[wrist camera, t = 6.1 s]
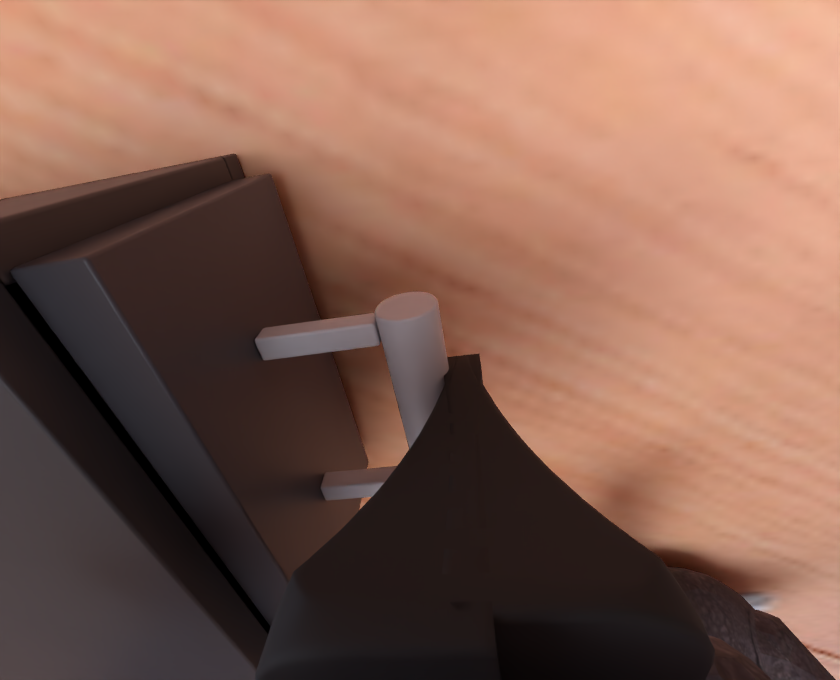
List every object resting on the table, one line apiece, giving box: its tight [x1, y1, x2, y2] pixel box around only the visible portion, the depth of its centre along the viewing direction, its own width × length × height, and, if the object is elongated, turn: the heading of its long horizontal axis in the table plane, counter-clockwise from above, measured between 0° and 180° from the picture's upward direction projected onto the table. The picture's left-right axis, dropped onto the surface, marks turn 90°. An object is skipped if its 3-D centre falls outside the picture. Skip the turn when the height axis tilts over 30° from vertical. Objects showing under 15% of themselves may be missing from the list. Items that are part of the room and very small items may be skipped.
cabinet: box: [0, 154, 271, 680], centre depth 12 cm, size 14×13×9 cm
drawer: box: [5, 174, 449, 626], centre depth 11 cm, size 17×11×7 cm
